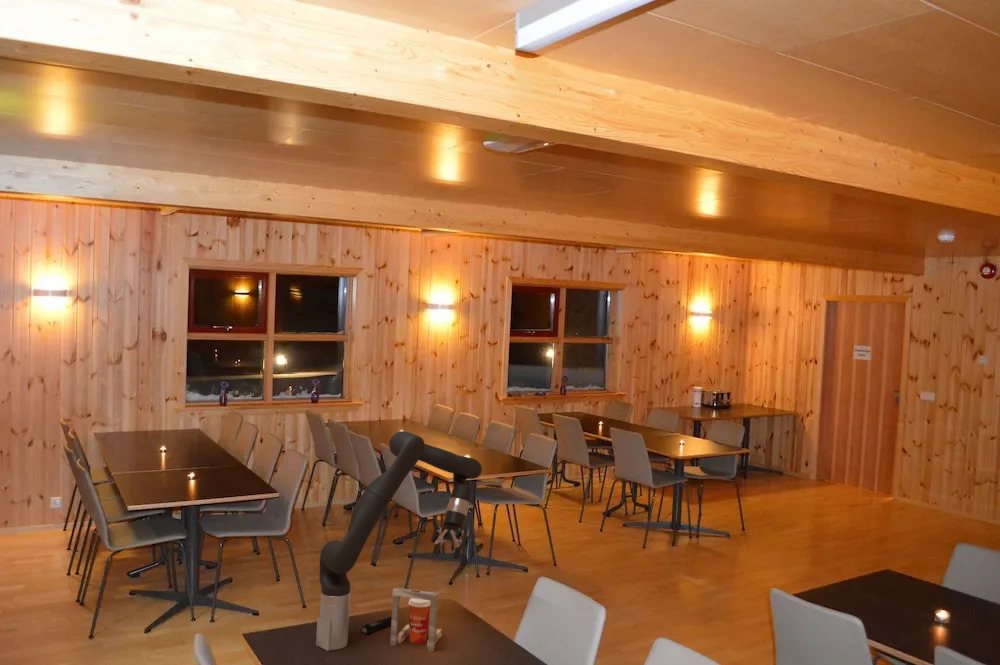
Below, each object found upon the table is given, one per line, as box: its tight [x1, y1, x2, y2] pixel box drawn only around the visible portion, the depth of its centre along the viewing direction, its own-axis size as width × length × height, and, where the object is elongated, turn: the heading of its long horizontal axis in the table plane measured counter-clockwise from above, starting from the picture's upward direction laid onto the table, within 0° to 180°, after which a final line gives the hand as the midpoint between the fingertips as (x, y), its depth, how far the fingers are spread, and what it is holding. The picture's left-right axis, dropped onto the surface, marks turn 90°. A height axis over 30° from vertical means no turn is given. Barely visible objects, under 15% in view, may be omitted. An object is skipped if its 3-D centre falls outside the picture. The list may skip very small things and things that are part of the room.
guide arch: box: [389, 587, 443, 652], centre depth 263 cm, size 13×15×19 cm
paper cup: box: [407, 598, 431, 645], centre depth 263 cm, size 8×8×14 cm
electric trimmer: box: [360, 615, 392, 636], centre depth 272 cm, size 4×16×3 cm, turn 142°
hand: (445, 557), depth 278 cm, fingers open, 8 cm apart
